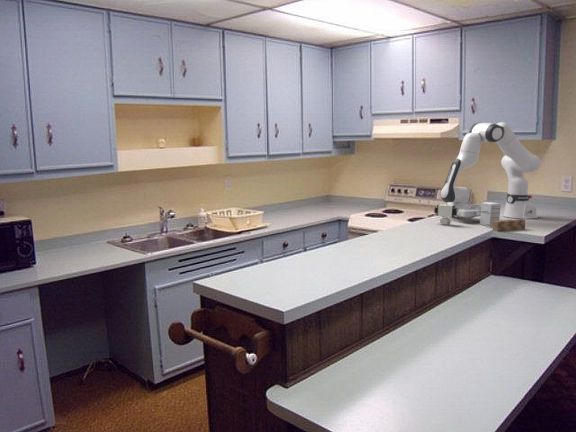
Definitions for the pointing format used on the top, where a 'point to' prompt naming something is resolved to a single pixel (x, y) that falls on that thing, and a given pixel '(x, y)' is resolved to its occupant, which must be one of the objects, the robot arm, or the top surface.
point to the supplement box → (489, 213)
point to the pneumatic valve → (445, 212)
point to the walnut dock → (507, 225)
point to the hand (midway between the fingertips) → (485, 214)
